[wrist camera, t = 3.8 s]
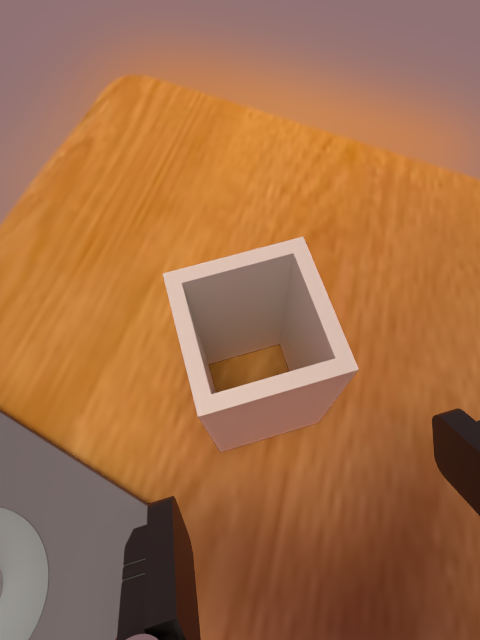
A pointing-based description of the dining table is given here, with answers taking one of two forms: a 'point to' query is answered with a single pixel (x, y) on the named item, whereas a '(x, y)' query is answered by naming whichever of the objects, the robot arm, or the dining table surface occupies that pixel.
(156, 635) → the robot arm
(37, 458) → the post plate
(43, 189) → the dining table surface
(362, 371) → the dining table surface
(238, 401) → the sleeve
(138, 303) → the dining table surface
